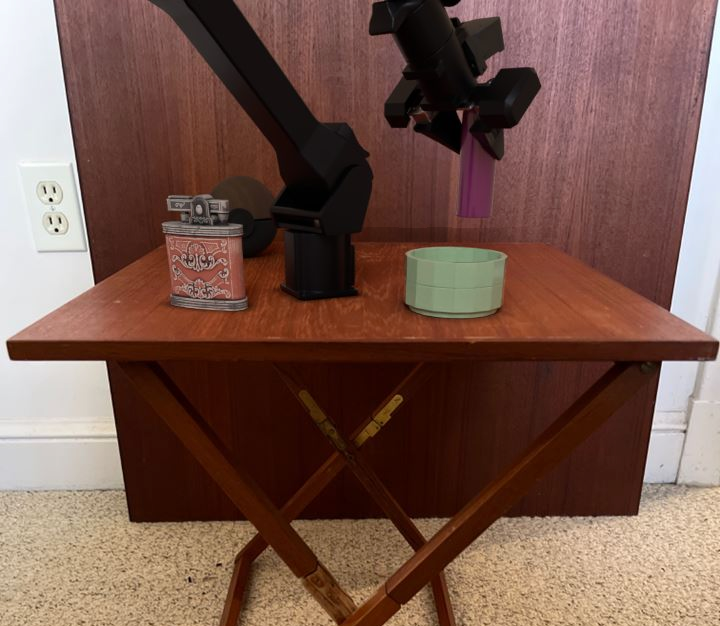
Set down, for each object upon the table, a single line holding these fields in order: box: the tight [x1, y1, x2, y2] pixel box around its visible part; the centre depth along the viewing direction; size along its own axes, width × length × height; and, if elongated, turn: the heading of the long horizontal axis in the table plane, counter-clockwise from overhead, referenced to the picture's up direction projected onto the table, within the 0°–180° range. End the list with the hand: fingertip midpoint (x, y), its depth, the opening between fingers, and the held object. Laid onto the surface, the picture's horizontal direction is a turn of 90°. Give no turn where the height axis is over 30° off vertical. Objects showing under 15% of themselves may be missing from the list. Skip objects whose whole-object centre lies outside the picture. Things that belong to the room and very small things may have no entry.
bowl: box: [403, 246, 509, 319], centre depth 67 cm, size 9×9×5 cm
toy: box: [209, 174, 279, 258], centre depth 92 cm, size 9×10×10 cm
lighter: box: [161, 193, 249, 312], centre depth 66 cm, size 8×3×10 cm, turn 71°
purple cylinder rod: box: [455, 107, 498, 219], centre depth 84 cm, size 4×4×12 cm
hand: (485, 157), depth 84 cm, fingers closed on purple cylinder rod, 4 cm apart
